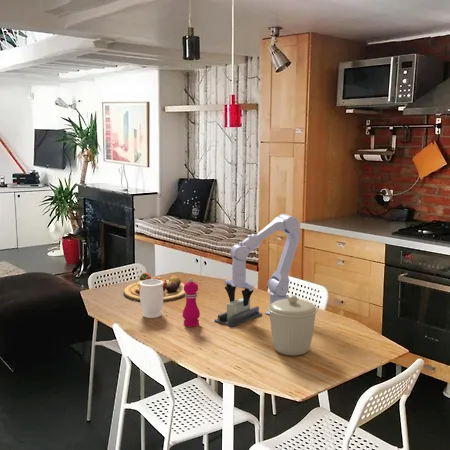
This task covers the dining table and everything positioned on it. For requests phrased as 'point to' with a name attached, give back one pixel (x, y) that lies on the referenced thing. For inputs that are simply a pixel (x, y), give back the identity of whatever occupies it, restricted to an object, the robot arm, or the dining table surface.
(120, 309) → the dining table surface
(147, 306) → the jar
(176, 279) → the wooden plate with food
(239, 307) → the sage green block
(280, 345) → the canister
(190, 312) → the pepper mill
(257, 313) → the rail
